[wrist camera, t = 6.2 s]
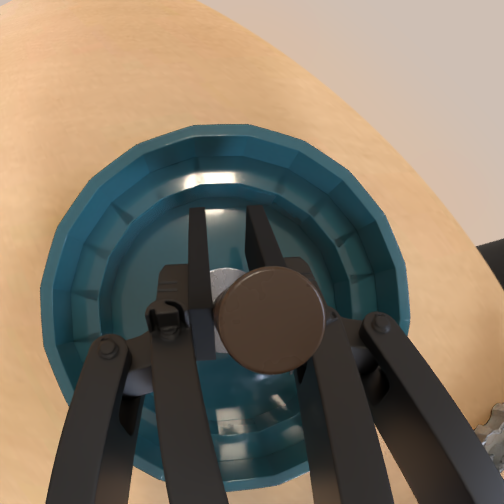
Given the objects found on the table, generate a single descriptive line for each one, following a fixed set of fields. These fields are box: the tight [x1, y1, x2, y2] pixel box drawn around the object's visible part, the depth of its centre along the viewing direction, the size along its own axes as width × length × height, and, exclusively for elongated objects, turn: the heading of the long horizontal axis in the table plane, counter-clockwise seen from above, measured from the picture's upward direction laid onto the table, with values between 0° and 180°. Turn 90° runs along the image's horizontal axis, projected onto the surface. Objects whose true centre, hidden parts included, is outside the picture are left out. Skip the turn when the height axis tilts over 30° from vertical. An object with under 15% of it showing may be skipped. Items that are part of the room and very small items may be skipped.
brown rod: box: [210, 266, 326, 375], centre depth 12 cm, size 5×5×14 cm
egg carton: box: [474, 403, 504, 473], centre depth 19 cm, size 11×8×4 cm
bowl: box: [40, 124, 410, 492], centre depth 17 cm, size 20×20×6 cm
